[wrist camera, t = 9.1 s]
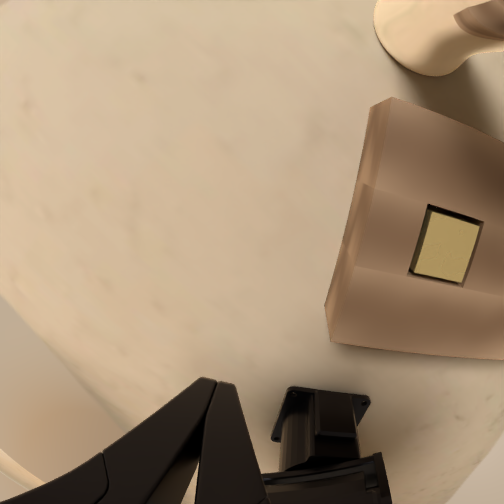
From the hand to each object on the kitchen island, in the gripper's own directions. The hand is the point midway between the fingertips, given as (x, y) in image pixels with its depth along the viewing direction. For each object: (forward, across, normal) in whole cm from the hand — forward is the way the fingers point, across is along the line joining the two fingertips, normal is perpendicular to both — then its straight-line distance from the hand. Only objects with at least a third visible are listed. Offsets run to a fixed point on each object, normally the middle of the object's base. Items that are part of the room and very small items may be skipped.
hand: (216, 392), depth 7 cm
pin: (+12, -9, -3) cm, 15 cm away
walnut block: (+12, -12, -3) cm, 18 cm away
